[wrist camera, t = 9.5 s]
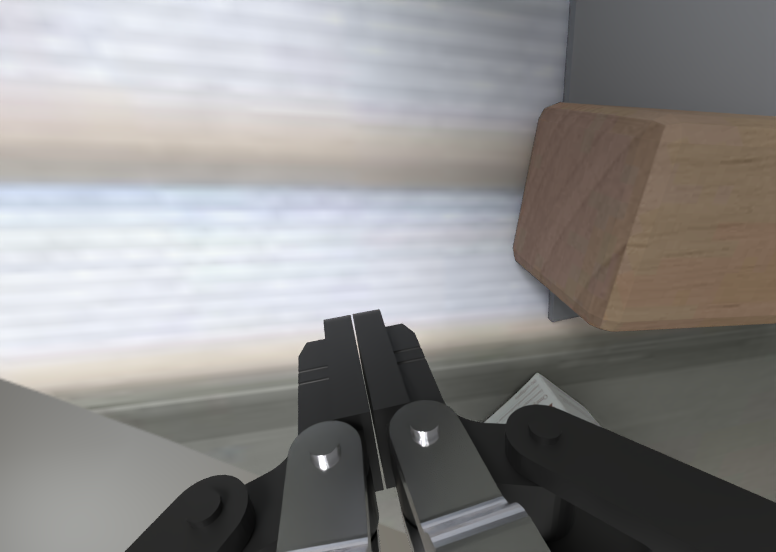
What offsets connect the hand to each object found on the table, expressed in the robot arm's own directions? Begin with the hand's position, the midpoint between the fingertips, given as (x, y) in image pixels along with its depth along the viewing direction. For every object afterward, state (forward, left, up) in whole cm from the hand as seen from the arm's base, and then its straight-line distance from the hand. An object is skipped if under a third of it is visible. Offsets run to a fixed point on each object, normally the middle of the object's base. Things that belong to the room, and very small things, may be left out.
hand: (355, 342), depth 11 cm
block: (+1, +12, -10) cm, 15 cm away
